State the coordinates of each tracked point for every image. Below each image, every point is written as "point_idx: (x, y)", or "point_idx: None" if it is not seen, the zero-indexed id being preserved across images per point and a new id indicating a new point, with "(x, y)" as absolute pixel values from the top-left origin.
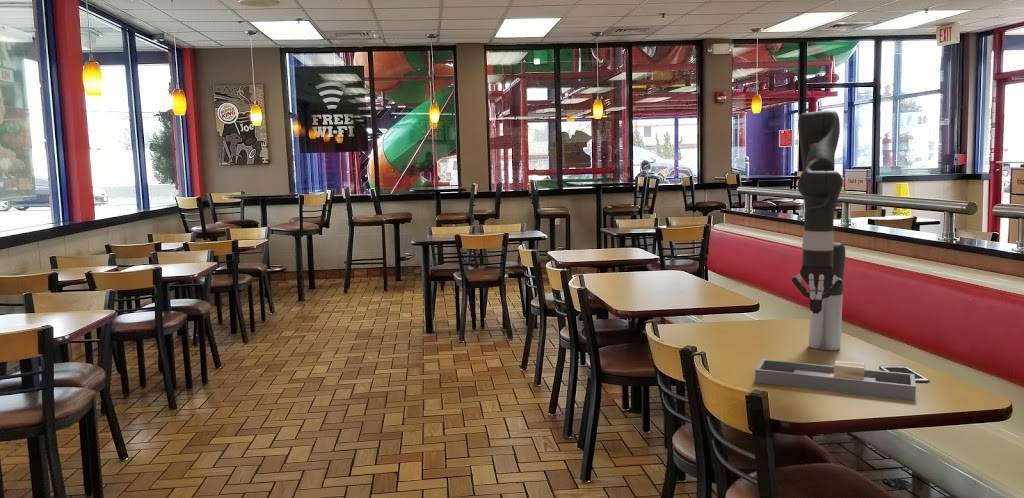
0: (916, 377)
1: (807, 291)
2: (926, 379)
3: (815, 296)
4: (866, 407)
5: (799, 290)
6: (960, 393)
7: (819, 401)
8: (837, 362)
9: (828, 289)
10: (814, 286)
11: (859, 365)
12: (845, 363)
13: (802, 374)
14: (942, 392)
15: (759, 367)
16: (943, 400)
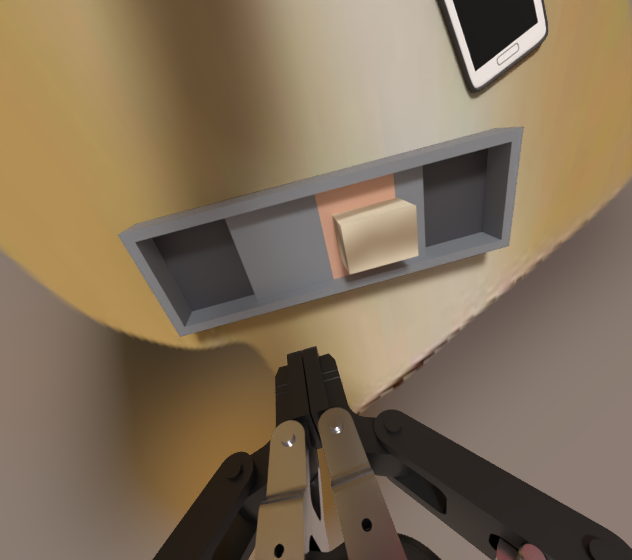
0: (517, 20)
1: (254, 501)
2: (541, 30)
3: (315, 453)
4: (410, 324)
5: (214, 552)
6: (588, 114)
7: (337, 342)
8: (350, 243)
9: (418, 468)
10: (307, 536)
11: (405, 237)
12: (370, 239)
13: (283, 306)
14: (551, 133)
15: (174, 315)
16: (538, 200)
